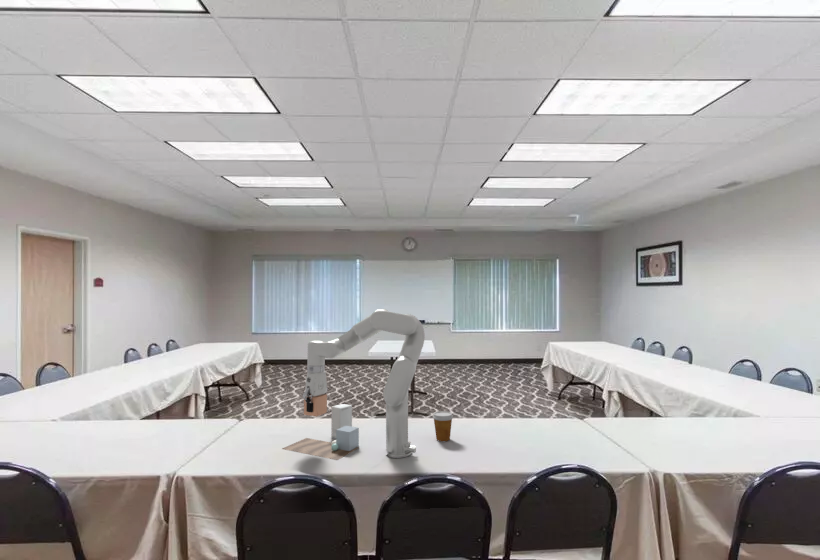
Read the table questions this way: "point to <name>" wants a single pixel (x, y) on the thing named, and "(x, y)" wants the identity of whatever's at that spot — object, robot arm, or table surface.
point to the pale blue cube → (347, 438)
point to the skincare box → (340, 417)
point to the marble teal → (334, 447)
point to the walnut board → (318, 449)
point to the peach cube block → (317, 405)
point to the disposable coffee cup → (442, 425)
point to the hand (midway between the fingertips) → (315, 409)
